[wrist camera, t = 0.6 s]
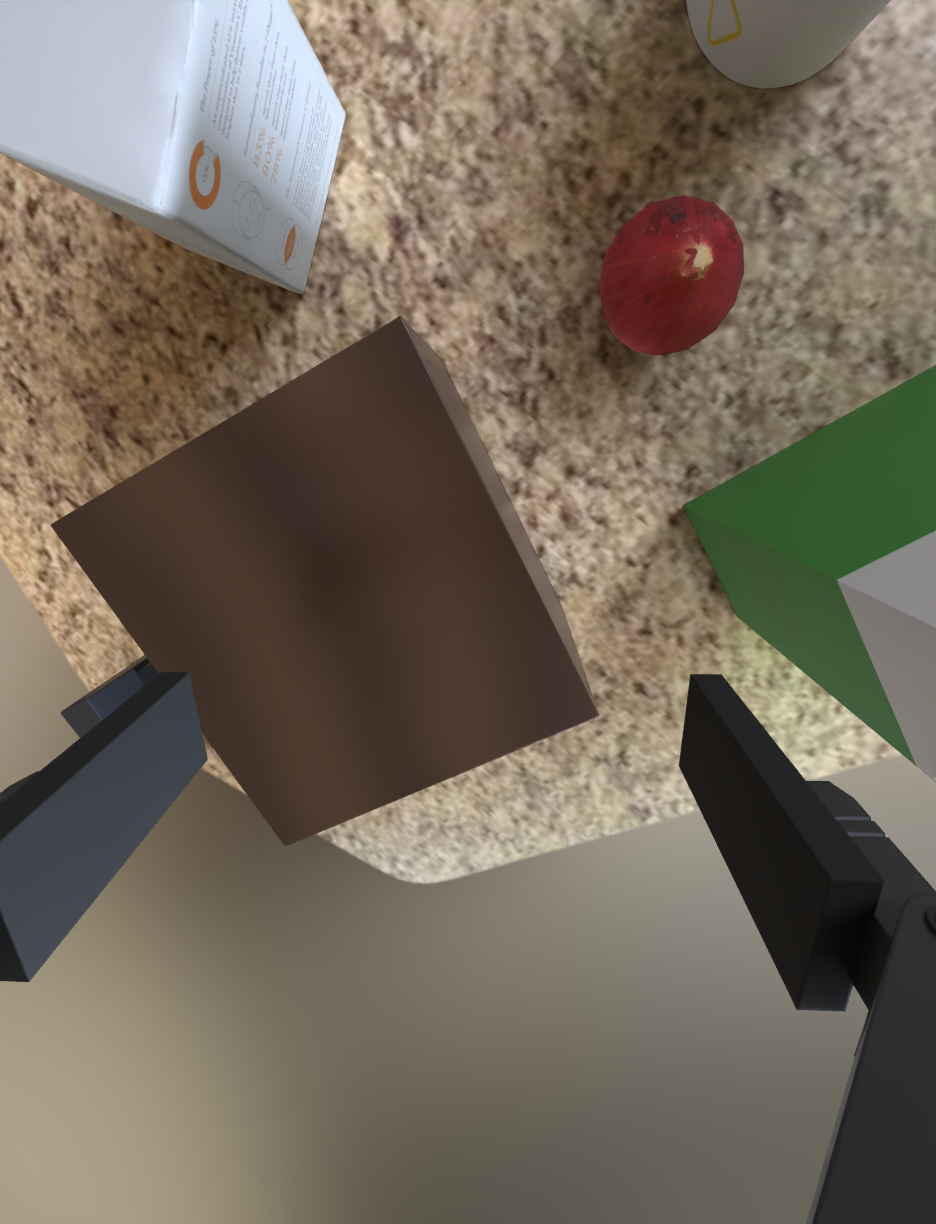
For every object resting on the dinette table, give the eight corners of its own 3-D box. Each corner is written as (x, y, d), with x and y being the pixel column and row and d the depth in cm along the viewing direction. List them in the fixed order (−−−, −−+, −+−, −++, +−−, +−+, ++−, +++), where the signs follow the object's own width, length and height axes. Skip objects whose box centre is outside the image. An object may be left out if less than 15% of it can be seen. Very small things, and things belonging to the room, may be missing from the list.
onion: (579, 245, 28) (610, 180, 20) (702, 214, 27) (781, 134, 19) (596, 373, 29) (630, 358, 22) (712, 346, 29) (788, 321, 21)
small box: (215, 57, 26) (-39, -268, 14) (349, 113, 26) (220, -153, 14) (182, 251, 29) (-58, 126, 16) (304, 299, 29) (162, 213, 17)
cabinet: (357, 700, 36) (284, 847, 24) (220, 483, 32) (48, 524, 20) (562, 606, 34) (600, 716, 21) (441, 357, 30) (401, 315, 17)
